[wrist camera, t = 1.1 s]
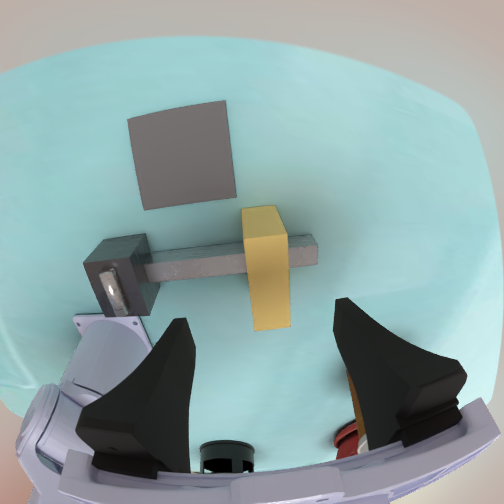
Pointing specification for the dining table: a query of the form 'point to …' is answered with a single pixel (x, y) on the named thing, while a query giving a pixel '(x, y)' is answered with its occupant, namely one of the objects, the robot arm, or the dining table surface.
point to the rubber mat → (183, 155)
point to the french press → (226, 457)
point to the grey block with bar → (167, 269)
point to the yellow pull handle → (267, 266)
